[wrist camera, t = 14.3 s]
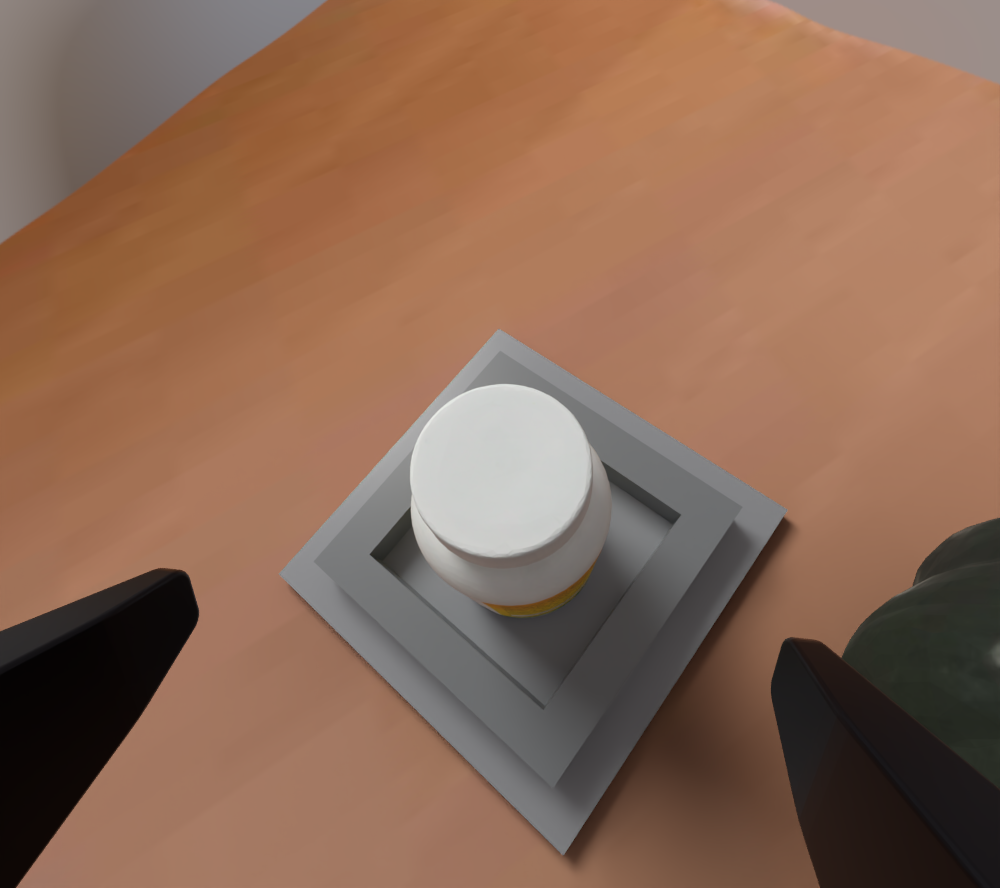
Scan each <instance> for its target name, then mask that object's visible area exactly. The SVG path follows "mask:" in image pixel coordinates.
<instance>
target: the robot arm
mask: <svg viewBox="0 0 1000 888" xmlns="http://www.w3.org/2000/svg"><path fill="white" fill-rule="evenodd" d="M198 618H199V608H198V605H197V601H196V598H195V595H194V591H193V588H192V584H191V581H190V578H189V576H188V574H187V573H186V572H184V571H182V570H177V569H168V568H158V569H155V570H152V571H149V572H147V573H144V574H142V575H139V576H137V577H135V578H132V579H130V580H127V581H125V582H122V583H120V584H117V585H115V586H112V587H110V588H107V589H105V590H102V591H100V592H97V593H95V594H92V595H90V596H87V597H85V598H82V599H80V600H77V601H75V602H72V603H70V604H67V605H65V606H62V607H60V608H57V609H55V610H52V611H50V612H47V613H45V614H42V615H40V616H37V617H35V618H32V619H30V620H28V621H25V622H23V623H20V624H18V625H15V626H13V627H10V628H8V629H5V630H3V631H0V888H16V887H17V886H18V884H19V883H20V882H21V880H22V879H23V877H24V876H25V875H26V873H27V872H28V871H29V869H30V868H31V867H32V865H33V864H34V862H35V861H36V860H37V858H38V857H39V856H40V854H41V853H42V851H43V850H44V849H45V847H46V846H47V845H48V843H49V842H50V840H51V839H52V838H53V836H54V835H55V834H56V832H57V831H58V829H59V828H60V827H61V825H62V824H63V823H64V821H65V820H66V818H67V817H68V816H69V814H70V813H71V812H72V810H73V809H74V807H75V806H76V805H77V803H78V802H79V801H80V799H81V798H82V797H83V795H84V794H85V792H86V791H87V790H88V788H89V787H90V786H91V784H92V783H93V781H94V780H95V779H96V777H97V776H98V775H99V773H100V772H101V770H102V769H103V768H104V766H105V765H106V764H107V762H108V761H109V759H110V758H111V757H112V755H113V754H114V753H115V751H116V750H117V748H118V747H119V746H120V744H121V743H122V742H123V740H124V739H125V737H126V736H127V735H128V733H129V732H130V731H131V729H132V728H133V726H134V725H135V723H136V722H137V721H138V719H139V718H140V716H141V715H142V713H143V712H144V710H145V708H146V707H147V705H148V704H149V702H150V701H151V699H152V697H153V696H154V694H155V692H156V691H157V689H158V687H159V686H160V684H161V682H162V681H163V679H164V678H165V676H166V674H167V673H168V671H169V669H170V668H171V666H172V664H173V663H174V661H175V659H176V658H177V656H178V655H179V653H180V651H181V650H182V648H183V646H184V645H185V643H186V641H187V640H188V638H189V636H190V635H191V633H192V631H193V630H194V628H195V626H196V624H197V621H198ZM771 696H772V702H773V707H774V711H775V716H776V720H777V725H778V730H779V734H780V739H781V743H782V748H783V753H784V757H785V762H786V766H787V771H788V775H789V780H790V785H791V789H792V794H793V798H794V802H795V807H796V811H797V815H798V819H799V822H800V826H801V829H802V832H803V836H804V839H805V842H806V845H807V849H808V852H809V855H810V858H811V861H812V864H813V867H814V870H815V873H816V876H817V879H818V882H819V885H820V888H1000V789H999V788H998V787H997V786H996V785H994V784H993V783H992V782H991V781H990V780H988V779H987V778H986V777H985V776H984V775H982V774H981V773H980V772H979V771H977V770H976V769H975V768H974V767H973V766H971V765H970V764H969V763H968V762H967V761H965V760H964V759H963V758H962V757H961V756H959V755H958V754H957V753H956V752H954V751H953V750H952V749H951V748H950V747H948V746H947V745H946V744H945V743H944V742H942V741H941V740H940V739H939V738H937V737H936V736H935V735H934V734H933V733H931V732H930V731H929V730H928V729H927V728H925V727H924V726H923V725H922V724H921V723H919V722H918V721H917V720H916V719H914V718H913V717H912V716H911V715H910V714H908V713H907V712H906V711H905V710H904V709H902V708H901V707H900V706H899V705H897V704H896V703H895V702H894V701H893V700H891V699H890V698H889V697H888V696H887V695H885V694H884V693H883V692H882V691H881V690H879V689H878V688H877V687H876V686H874V685H873V684H872V683H871V682H870V681H868V680H867V679H866V678H865V677H864V676H862V675H861V674H860V673H859V672H857V671H856V670H855V669H854V668H853V667H851V666H850V665H849V664H848V663H847V662H845V661H844V660H843V659H842V658H841V657H839V656H838V655H837V654H836V653H834V652H833V651H832V650H831V649H830V648H828V647H827V646H826V645H825V644H823V643H822V642H820V641H817V640H812V639H803V638H794V637H790V638H787V639H785V641H784V642H783V644H782V646H781V650H780V653H779V657H778V660H777V664H776V667H775V671H774V674H773V678H772V682H771Z"/></svg>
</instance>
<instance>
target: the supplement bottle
mask: <svg viewBox="0 0 1000 888" xmlns="http://www.w3.org/2000/svg"><path fill="white" fill-rule="evenodd" d="M410 485H411V491H412V497H411V519H412V526H413V530H414V534H415V537H416V541H417V543H418V546H419V548H420V550H421V552H422V554H423V556H424V557H425V559H426V561H427V562H428V563H429V565H430V566H431V567H432V569H433V570H434V571H435V572H436V573H437V575H438V576H439V577H440V578H442V579H443V580H444V581H445V582H446V583H447V584H449V585H450V586H451V587H453V588H454V589H455V590H457V591H459V592H461V593H462V594H464V595H466V596H467V597H469V598H471V599H472V600H474V601H475V602H477V603H478V604H479V605H481V606H484V607H485V608H487V609H489V610H491V611H493V612H495V613H497V614H500V615H503V616H507V617H512V618H534V617H539V616H543V615H546V614H549V613H551V612H554V611H556V610H558V609H560V608H561V607H563V606H564V605H566V604H567V603H569V602H570V601H571V600H572V599H573V598H574V597H575V596H576V595H577V594H578V593H579V592H580V591H581V589H582V588H583V587H584V585H585V584H586V582H587V580H588V578H589V576H590V574H591V572H592V570H593V567H594V565H595V563H596V561H597V558H598V556H599V554H600V552H601V550H602V548H603V545H604V543H605V540H606V537H607V534H608V531H609V526H610V521H611V511H612V499H611V490H610V484H609V481H608V477H607V474H606V471H605V468H604V466H603V464H602V462H601V460H600V458H599V456H598V455H597V453H596V451H595V450H594V449H593V447H592V446H591V445H590V443H589V442H588V440H587V437H586V435H585V432H584V430H583V429H582V427H581V425H580V424H579V422H578V421H577V419H576V418H575V417H574V415H573V414H572V413H571V412H570V411H569V410H568V409H567V408H566V407H565V406H564V405H562V404H561V403H560V402H559V401H557V400H556V399H554V398H553V397H551V396H550V395H547V394H545V393H543V392H541V391H539V390H536V389H533V388H529V387H526V386H521V385H514V384H496V385H489V386H484V387H479V388H475V389H472V390H470V391H467V392H465V393H463V394H461V395H459V396H457V397H455V398H454V399H452V400H451V401H449V402H448V403H446V404H445V405H444V406H443V407H442V408H440V409H439V410H438V411H437V412H436V413H435V415H433V416H432V418H431V419H430V420H429V421H428V423H427V424H426V425H425V427H424V428H423V430H422V432H421V433H420V436H419V437H418V439H417V442H416V444H415V447H414V450H413V454H412V458H411V465H410Z"/></svg>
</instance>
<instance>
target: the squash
mask: <svg viewBox="0 0 1000 888" xmlns="http://www.w3.org/2000/svg"><path fill="white" fill-rule="evenodd" d="M842 659H843V660H844V661H845V662H847V663H848V664H849V665H850V666H851V667H853V668H854V669H855V670H856V671H857V672H859V673H860V674H861V675H862V676H864V677H865V678H866V679H867V680H868V681H870V682H871V683H872V684H873V685H874V686H876V687H877V688H878V689H879V690H881V691H882V692H883V693H884V694H885V695H887V696H888V697H889V698H890V699H891V700H893V701H894V702H895V703H896V704H897V705H899V706H900V707H901V708H902V709H904V710H905V711H906V712H907V713H908V714H910V715H911V716H912V717H913V718H914V719H916V720H917V721H918V722H919V723H921V724H922V725H923V726H924V727H925V728H927V729H928V730H929V731H930V732H931V733H933V734H934V735H935V736H936V737H937V738H939V739H940V740H941V741H942V742H944V743H945V744H946V745H947V746H948V747H950V748H951V749H952V750H953V751H954V752H956V753H957V754H958V755H959V756H961V757H962V758H963V759H964V760H965V761H967V762H968V763H969V764H970V765H971V766H973V767H974V768H975V769H976V770H977V771H979V772H980V773H981V774H982V775H984V776H985V777H986V778H987V779H988V780H990V781H991V782H992V783H993V784H994V785H996V786H997V787H998V788H999V789H1000V518H997V519H993V520H989V521H986V522H983V523H979V524H976V525H973V526H970V527H967V528H965V529H963V530H961V531H959V532H957V533H955V534H953V535H952V536H950V537H949V538H948V539H946V540H945V541H944V542H943V543H941V544H940V545H939V546H938V547H937V548H936V549H935V550H934V551H933V552H932V553H931V554H930V555H929V556H928V557H927V558H926V559H925V560H924V562H923V563H922V564H921V566H920V567H919V569H918V570H917V573H916V577H915V580H914V583H913V586H912V587H911V588H909V589H907V590H906V591H904V592H902V593H900V594H898V595H896V596H894V597H893V598H891V599H890V600H889V601H887V602H886V603H885V604H884V605H882V606H881V607H880V608H878V609H877V610H876V611H874V612H873V613H872V614H871V615H870V616H869V617H868V618H867V619H866V620H865V621H864V622H863V623H862V624H861V625H860V626H859V628H858V629H857V631H856V632H855V633H854V635H853V636H852V638H851V639H850V641H849V643H848V645H847V647H846V649H845V651H844V653H843V656H842Z"/></svg>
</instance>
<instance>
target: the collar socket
mask: <svg viewBox="0 0 1000 888" xmlns="http://www.w3.org/2000/svg"><path fill="white" fill-rule="evenodd" d="M496 384H514V385H521V386H526V387H529V388H533V389H536V390H539V391H541V392H543V393H545V394H547V395H550V396H551V397H553V398H554V399H556V400H557V401H559V402H560V403H561V404H562V405H564V406H565V407H566V408H567V409H568V410H569V411H570V412H571V413H572V414H573V415H574V417H575V418H576V419H577V421H578V422H579V424H580V425H581V427H582V429H583V430H584V432H585V435H586V437H587V440H588V442H589V443H590V445H591V446H592V447H593V449H594V450H595V451H596V453H597V455H598V456H599V458H600V460H601V462H602V464H603V466H604V468H605V471H606V474H607V477H608V481H609V484H610V490H611V499H612V511H611V521H610V526H609V531H608V534H607V537H606V540H605V543H604V545H603V548H602V550H601V552H600V554H599V556H598V558H597V561H596V563H595V565H594V567H593V570H592V572H591V574H590V576H589V578H588V580H587V582H586V584H585V585H584V587H583V588H582V589H581V591H580V592H579V593H578V594H577V595H576V596H575V597H574V598H573V599H572V600H571V601H570V602H569V603H567V604H566V605H564V606H563V607H561V608H560V609H558V610H556V611H554V612H551V613H549V614H546V615H543V616H539V617H534V618H512V617H507V616H503V615H500V614H497V613H495V612H493V611H491V610H489V609H487V608H485V607H484V606H481V605H479V604H478V603H477V602H475V601H474V600H472V599H471V598H469V597H467V596H466V595H464V594H462V593H461V592H459V591H457V590H455V589H454V588H453V587H451V586H450V585H449V584H447V583H446V582H445V581H444V580H443V579H442V578H440V577H439V576H438V575H437V573H436V572H435V571H434V570H433V569H432V567H431V566H430V565H429V563H428V562H427V561H426V559H425V557H424V556H423V554H422V552H421V550H420V548H419V546H418V543H417V541H416V537H415V534H414V530H413V526H412V519H411V497H412V491H411V485H410V465H411V458H412V454H413V450H414V447H415V444H416V442H417V439H418V437H419V436H420V433H421V432H422V430H423V428H424V427H425V425H426V424H427V423H428V421H429V420H430V419H431V418H432V416H433V415H435V413H436V412H437V411H438V410H439V409H440V408H442V407H443V406H444V405H445V404H446V403H448V402H449V401H451V400H452V399H454V398H455V397H457V396H459V395H461V394H463V393H465V392H467V391H470V390H472V389H475V388H479V387H484V386H489V385H496ZM786 512H787V509H785V508H784V507H782V506H781V505H779V504H778V503H776V502H774V501H773V500H771V499H770V498H768V497H766V496H765V495H763V494H762V493H760V492H758V491H757V490H755V489H754V488H752V487H750V486H749V485H747V484H746V483H744V482H742V481H741V480H739V479H738V478H736V477H734V476H733V475H731V474H730V473H728V472H727V471H725V470H723V469H722V468H720V467H719V466H717V465H715V464H714V463H712V462H711V461H709V460H707V459H706V458H704V457H703V456H701V455H699V454H698V453H696V452H695V451H693V450H691V449H690V448H688V447H687V446H685V445H683V444H682V443H680V442H679V441H677V440H676V439H674V438H672V437H671V436H669V435H668V434H666V433H664V432H663V431H661V430H660V429H658V428H656V427H655V426H653V425H652V424H650V423H648V422H647V421H645V420H644V419H642V418H640V417H639V416H637V415H636V414H634V413H632V412H631V411H629V410H628V409H626V408H625V407H623V406H621V405H620V404H618V403H617V402H615V401H613V400H612V399H610V398H609V397H607V396H605V395H604V394H602V393H601V392H599V391H597V390H596V389H594V388H593V387H591V386H589V385H588V384H586V383H585V382H583V381H581V380H580V379H578V378H577V377H575V376H574V375H572V374H570V373H569V372H567V371H566V370H564V369H562V368H561V367H559V366H558V365H556V364H554V363H553V362H551V361H550V360H548V359H546V358H545V357H543V356H542V355H540V354H538V353H537V352H535V351H534V350H532V349H530V348H529V347H527V346H526V345H524V344H523V343H521V342H519V341H518V340H516V339H515V338H513V337H511V336H510V335H508V334H507V333H505V332H503V331H502V330H500V329H498V330H497V331H496V332H495V334H494V335H493V336H492V337H491V338H490V339H489V340H488V341H487V343H486V344H485V345H484V346H483V347H482V348H481V349H480V350H479V351H478V353H477V354H476V355H475V356H474V357H473V358H472V359H471V360H470V361H469V363H468V364H467V365H466V366H465V367H464V368H463V369H462V370H461V371H460V373H459V374H458V375H457V376H456V377H455V378H454V379H453V380H452V382H451V383H450V384H449V385H448V386H447V387H446V388H445V389H444V390H443V392H442V393H441V394H440V395H439V396H438V397H437V398H436V399H435V400H434V402H433V403H432V404H431V405H430V406H429V407H428V408H427V409H426V410H425V412H424V413H423V414H422V415H421V416H420V417H419V418H418V419H417V421H416V422H415V423H414V424H413V425H412V426H411V427H410V428H409V429H408V431H407V432H406V433H405V434H404V435H403V436H402V437H401V438H400V439H399V441H398V442H397V443H396V444H395V445H394V446H393V447H392V448H391V449H390V451H389V452H388V453H387V454H386V455H385V456H384V457H383V458H382V460H381V461H380V462H379V463H378V464H377V465H376V466H375V467H374V468H373V470H372V471H371V472H370V473H369V474H368V475H367V476H366V477H365V478H364V480H363V481H362V482H361V483H360V484H359V485H358V486H357V487H356V488H355V490H354V491H353V492H352V493H351V494H350V495H349V496H348V497H347V499H346V500H345V501H344V502H343V503H342V504H341V505H340V506H339V507H338V509H337V510H336V511H335V512H334V513H333V514H332V515H331V516H330V517H329V519H328V520H327V521H326V522H325V523H324V524H323V525H322V526H321V528H320V529H319V530H318V531H317V532H316V533H315V534H314V535H313V536H312V538H311V539H310V540H309V541H308V542H307V543H306V544H305V545H304V546H303V548H302V549H301V550H300V551H299V552H298V553H297V554H296V555H295V556H294V558H293V559H292V560H291V561H290V562H289V563H288V564H287V565H286V567H285V568H284V569H283V570H282V571H281V572H280V573H279V575H280V576H281V577H282V578H283V579H284V580H285V581H286V582H287V583H288V584H289V585H290V586H291V587H292V588H293V589H294V590H295V591H296V592H297V593H298V594H299V595H300V596H301V597H302V598H304V599H305V600H306V601H307V602H308V603H309V604H310V605H311V606H312V607H313V608H314V609H315V610H316V611H317V612H318V613H319V614H320V615H321V616H322V617H323V618H324V619H325V620H326V621H327V622H328V623H329V624H330V625H331V626H332V627H333V628H334V629H335V630H336V631H337V632H338V633H339V634H340V635H341V636H342V637H343V638H344V639H345V640H346V641H347V642H348V643H349V644H350V645H351V646H352V647H353V648H354V649H355V650H356V651H357V652H358V653H359V654H360V655H361V656H362V657H363V658H364V659H365V660H366V661H367V662H368V663H369V664H370V665H371V666H372V667H373V668H374V669H375V670H376V671H377V672H378V673H379V674H380V675H381V676H382V677H383V678H384V679H385V680H386V681H387V682H388V683H389V684H390V685H391V686H392V687H393V688H394V689H395V690H396V691H397V692H398V693H399V694H400V695H401V696H402V697H403V698H404V699H405V700H407V701H408V702H409V703H410V704H411V705H412V706H413V707H414V708H415V709H416V710H417V711H418V712H419V713H420V714H421V715H422V716H423V717H424V718H425V719H426V720H427V721H428V722H429V723H430V724H431V725H432V726H433V727H434V728H435V729H436V730H437V731H438V732H439V733H440V734H441V735H442V736H443V737H444V738H445V739H446V740H447V741H448V742H449V743H450V744H451V745H452V746H453V747H454V748H455V749H456V750H457V751H458V752H459V753H460V754H461V755H462V756H463V757H464V758H465V759H466V760H467V761H468V762H469V763H470V764H471V765H472V766H473V767H474V768H475V769H476V770H477V771H478V772H479V773H480V774H481V775H482V776H483V777H484V778H485V779H486V780H487V781H488V782H489V783H490V784H491V785H492V786H493V787H494V788H495V789H496V790H497V791H498V792H499V793H500V794H501V795H502V796H503V797H504V798H505V799H506V800H507V801H508V802H510V803H511V804H512V805H513V806H514V807H515V808H516V809H517V810H518V811H519V812H520V813H521V814H522V815H523V816H524V817H525V818H526V819H527V820H528V821H529V822H530V823H531V824H532V825H533V826H534V827H535V828H536V829H537V830H538V831H539V832H540V833H541V834H542V835H543V836H544V837H545V838H546V839H547V840H548V841H549V842H550V843H551V844H552V845H553V846H554V847H555V848H556V849H557V850H558V851H559V852H560V853H561V854H562V855H563V856H564V854H565V852H566V851H567V849H568V848H569V846H570V845H571V843H572V842H573V840H574V839H575V837H576V835H577V834H578V832H579V831H580V829H581V828H582V826H583V825H584V823H585V822H586V820H587V819H588V817H589V815H590V814H591V812H592V811H593V809H594V808H595V806H596V805H597V803H598V802H599V800H600V798H601V797H602V795H603V794H604V792H605V791H606V789H607V788H608V786H609V785H610V783H611V782H612V780H613V778H614V777H615V775H616V774H617V772H618V771H619V769H620V768H621V766H622V765H623V763H624V761H625V760H626V758H627V757H628V755H629V754H630V752H631V751H632V749H633V748H634V746H635V745H636V743H637V741H638V740H639V738H640V737H641V735H642V734H643V732H644V731H645V729H646V728H647V726H648V724H649V723H650V721H651V720H652V718H653V717H654V715H655V714H656V712H657V711H658V709H659V708H660V706H661V704H662V703H663V701H664V700H665V698H666V697H667V695H668V694H669V692H670V691H671V689H672V688H673V686H674V684H675V683H676V681H677V680H678V678H679V677H680V675H681V674H682V672H683V671H684V669H685V667H686V666H687V664H688V663H689V661H690V660H691V658H692V657H693V655H694V654H695V652H696V651H697V649H698V647H699V646H700V644H701V643H702V641H703V640H704V638H705V637H706V635H707V634H708V632H709V630H710V629H711V627H712V626H713V624H714V623H715V621H716V620H717V618H718V617H719V615H720V614H721V612H722V610H723V609H724V607H725V606H726V604H727V603H728V601H729V600H730V598H731V597H732V595H733V593H734V592H735V590H736V589H737V587H738V586H739V584H740V583H741V581H742V580H743V578H744V577H745V575H746V573H747V572H748V570H749V569H750V567H751V566H752V564H753V563H754V561H755V560H756V558H757V556H758V555H759V553H760V552H761V550H762V549H763V547H764V546H765V544H766V543H767V541H768V540H769V538H770V536H771V535H772V533H773V532H774V530H775V529H776V527H777V526H778V524H779V523H780V521H781V519H782V518H783V516H784V515H785V513H786Z"/></svg>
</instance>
